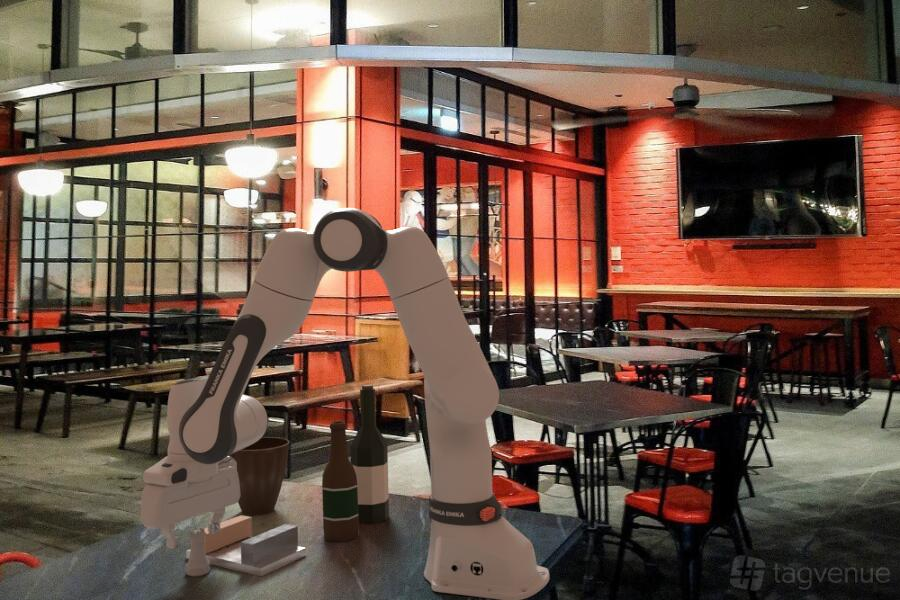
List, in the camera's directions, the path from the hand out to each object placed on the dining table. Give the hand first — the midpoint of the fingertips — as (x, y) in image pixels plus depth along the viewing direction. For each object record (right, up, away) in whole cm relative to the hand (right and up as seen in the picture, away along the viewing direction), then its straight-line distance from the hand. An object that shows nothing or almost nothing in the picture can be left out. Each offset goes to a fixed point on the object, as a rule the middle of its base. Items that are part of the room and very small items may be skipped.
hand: (194, 539), depth 138 cm
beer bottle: (+24, -6, +19) cm, 31 cm away
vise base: (+7, -6, +8) cm, 12 cm away
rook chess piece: (+1, -6, 0) cm, 6 cm away
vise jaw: (+2, -4, +11) cm, 12 cm away
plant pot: (+2, -6, +39) cm, 39 cm away
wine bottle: (+29, -5, +31) cm, 43 cm away
